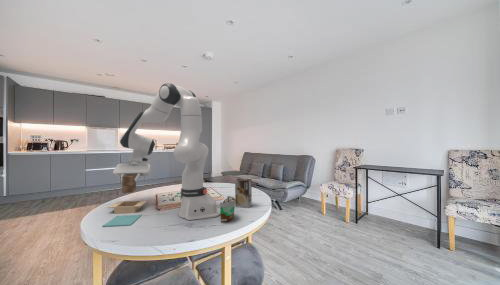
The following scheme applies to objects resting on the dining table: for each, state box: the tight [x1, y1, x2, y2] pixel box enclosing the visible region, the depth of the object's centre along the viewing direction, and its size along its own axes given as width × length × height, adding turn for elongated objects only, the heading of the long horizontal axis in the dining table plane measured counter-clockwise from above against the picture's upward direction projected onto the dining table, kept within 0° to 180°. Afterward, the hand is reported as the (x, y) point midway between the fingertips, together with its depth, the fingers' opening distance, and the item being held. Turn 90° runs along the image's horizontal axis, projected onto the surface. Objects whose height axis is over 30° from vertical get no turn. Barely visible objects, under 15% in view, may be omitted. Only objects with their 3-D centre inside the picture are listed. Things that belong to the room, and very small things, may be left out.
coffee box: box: [234, 177, 253, 208], centre depth 117 cm, size 9×6×16 cm
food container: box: [219, 195, 236, 224], centre depth 96 cm, size 12×6×10 cm, turn 168°
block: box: [121, 175, 137, 194], centre depth 109 cm, size 5×5×9 cm
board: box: [102, 214, 142, 228], centre depth 93 cm, size 12×12×1 cm
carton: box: [108, 200, 148, 214], centre depth 109 cm, size 16×10×4 cm, turn 97°
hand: (128, 181), depth 108 cm, fingers closed on block, 5 cm apart
